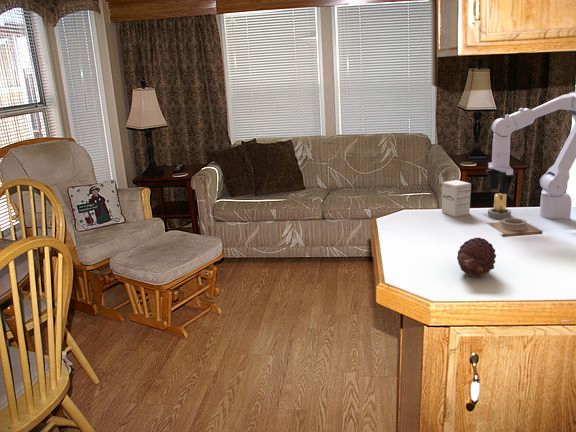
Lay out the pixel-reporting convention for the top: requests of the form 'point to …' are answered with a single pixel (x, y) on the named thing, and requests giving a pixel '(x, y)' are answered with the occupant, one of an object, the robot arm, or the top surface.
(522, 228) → the hub board
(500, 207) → the brass peg
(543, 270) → the top surface
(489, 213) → the spline stand
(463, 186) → the supplement box
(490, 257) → the pine cone
